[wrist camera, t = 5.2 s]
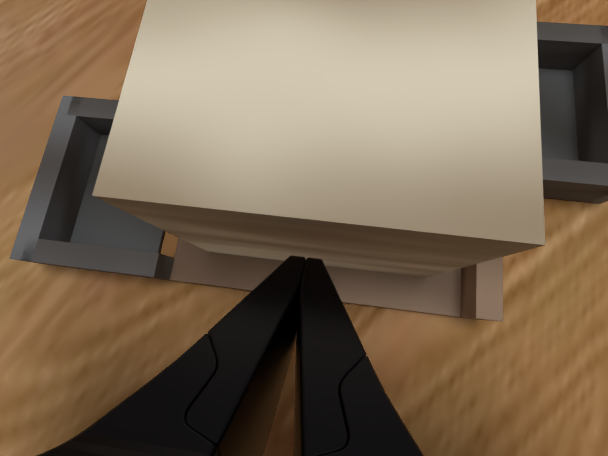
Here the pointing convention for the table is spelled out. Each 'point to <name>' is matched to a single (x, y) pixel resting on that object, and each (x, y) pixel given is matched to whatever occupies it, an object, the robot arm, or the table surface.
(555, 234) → the table surface
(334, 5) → the maple block
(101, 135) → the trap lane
